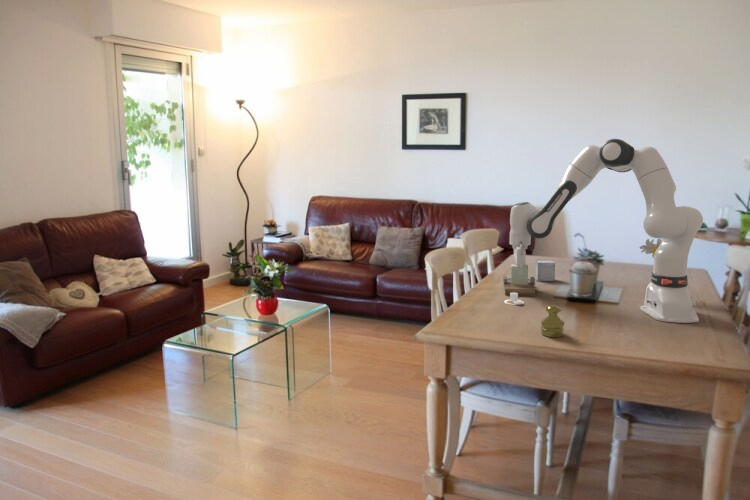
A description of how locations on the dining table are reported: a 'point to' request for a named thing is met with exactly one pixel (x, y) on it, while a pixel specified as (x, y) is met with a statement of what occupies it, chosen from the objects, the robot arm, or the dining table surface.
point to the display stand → (519, 287)
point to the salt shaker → (552, 323)
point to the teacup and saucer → (514, 299)
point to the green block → (517, 278)
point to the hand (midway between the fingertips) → (519, 271)
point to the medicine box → (545, 271)
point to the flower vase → (650, 248)
